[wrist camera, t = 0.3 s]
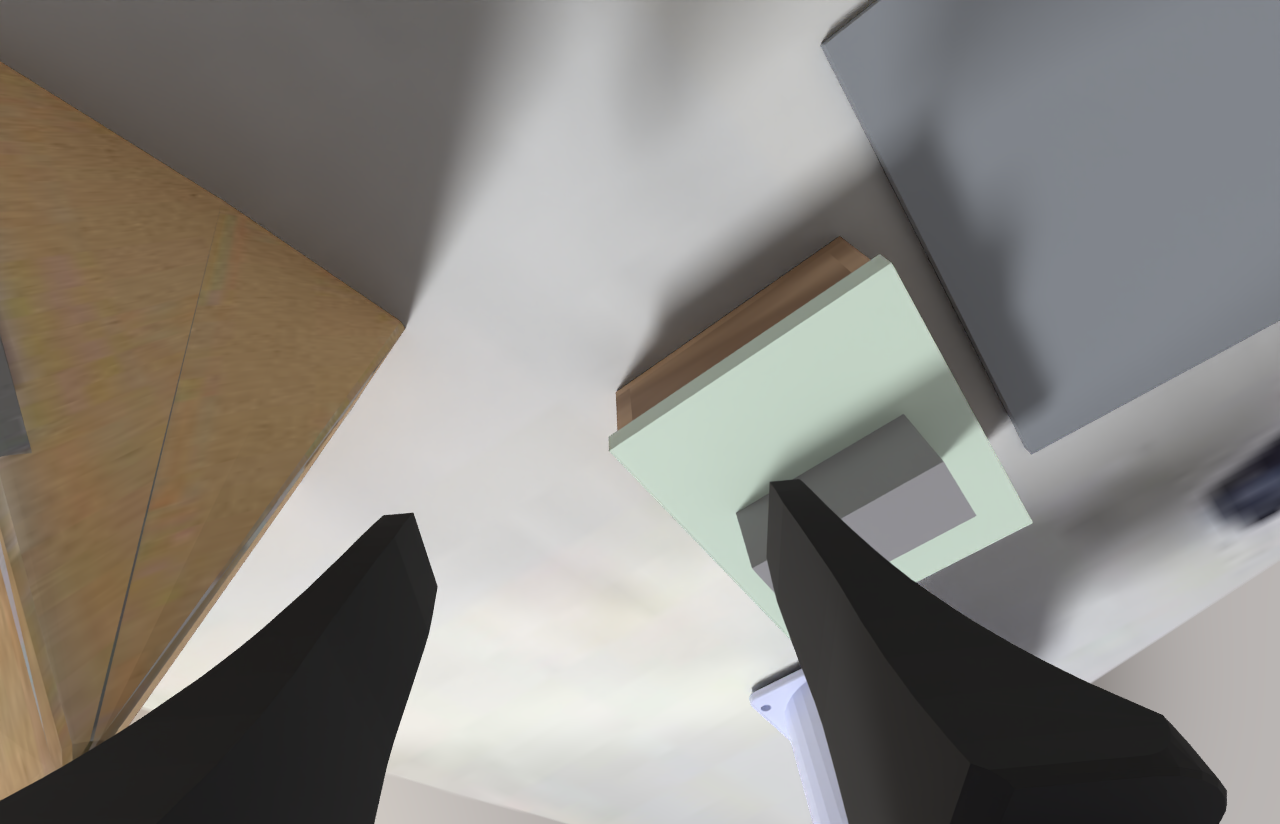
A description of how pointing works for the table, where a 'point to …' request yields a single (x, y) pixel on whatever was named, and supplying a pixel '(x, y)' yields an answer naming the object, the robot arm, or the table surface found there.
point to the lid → (828, 439)
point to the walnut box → (738, 328)
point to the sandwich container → (140, 415)
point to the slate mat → (1081, 182)
